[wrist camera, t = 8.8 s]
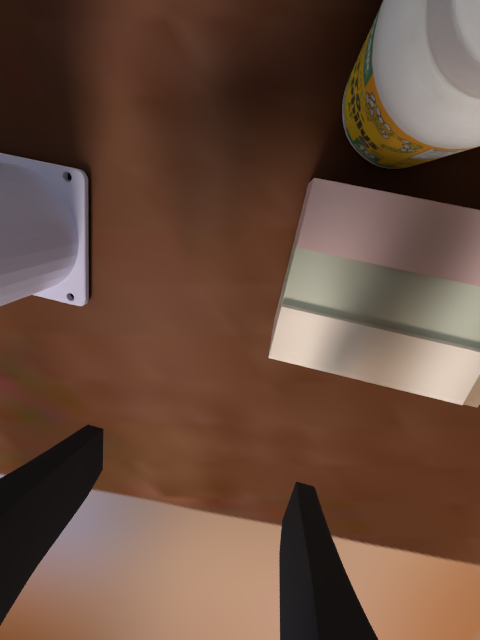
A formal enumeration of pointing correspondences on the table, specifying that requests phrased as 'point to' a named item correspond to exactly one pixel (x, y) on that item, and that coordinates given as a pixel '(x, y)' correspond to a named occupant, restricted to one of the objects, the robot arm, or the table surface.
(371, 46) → the supplement bottle
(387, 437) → the table surface
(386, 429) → the table surface
